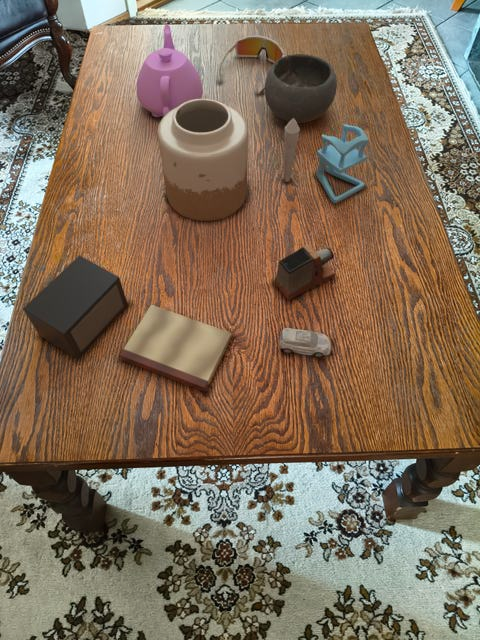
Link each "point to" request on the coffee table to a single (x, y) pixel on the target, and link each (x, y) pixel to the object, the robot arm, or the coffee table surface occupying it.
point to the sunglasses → (256, 49)
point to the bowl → (300, 87)
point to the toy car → (304, 342)
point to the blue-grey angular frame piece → (341, 160)
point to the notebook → (176, 347)
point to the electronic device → (303, 271)
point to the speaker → (77, 306)
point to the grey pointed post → (290, 147)
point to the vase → (204, 159)
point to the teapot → (167, 79)
